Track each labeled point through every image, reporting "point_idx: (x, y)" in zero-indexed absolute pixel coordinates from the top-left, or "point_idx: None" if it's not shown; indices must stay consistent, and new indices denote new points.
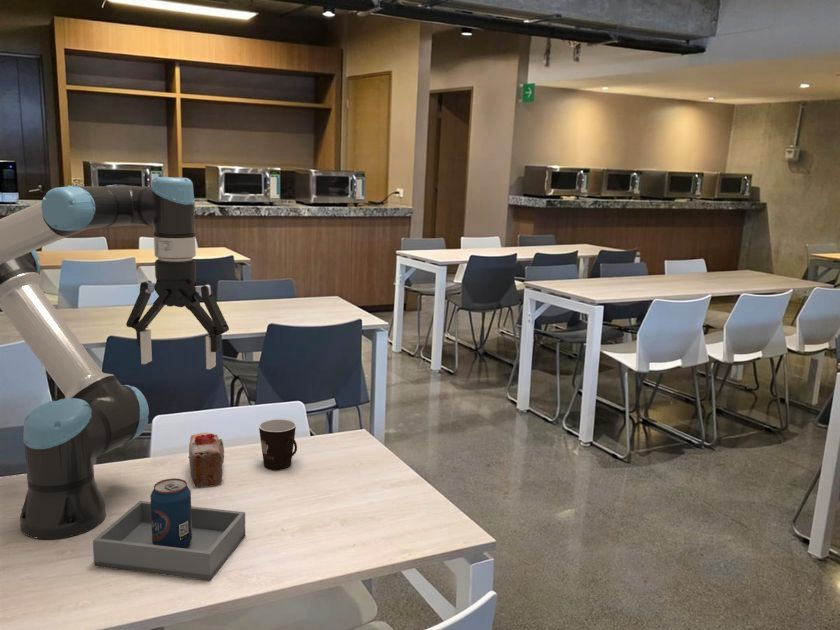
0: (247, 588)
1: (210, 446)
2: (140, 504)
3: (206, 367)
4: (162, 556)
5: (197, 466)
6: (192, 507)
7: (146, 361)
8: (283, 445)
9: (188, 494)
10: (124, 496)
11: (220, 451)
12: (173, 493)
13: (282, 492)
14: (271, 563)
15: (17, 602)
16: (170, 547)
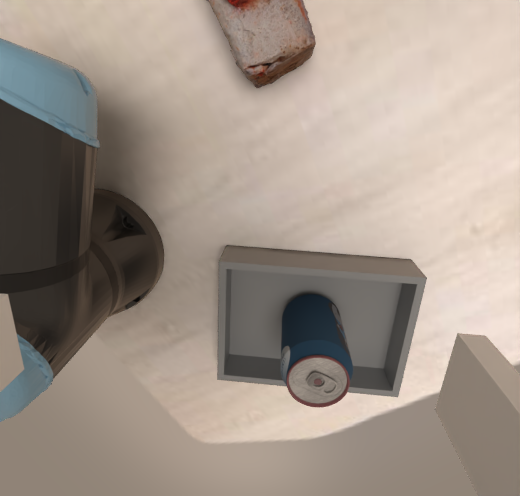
0: (439, 379)
1: (277, 16)
2: (226, 272)
3: (440, 417)
4: None
5: (260, 77)
6: (323, 272)
7: (12, 362)
8: None
9: (352, 373)
10: (141, 149)
11: (304, 12)
12: (333, 400)
13: (458, 70)
14: (465, 325)
15: (184, 417)
16: None
